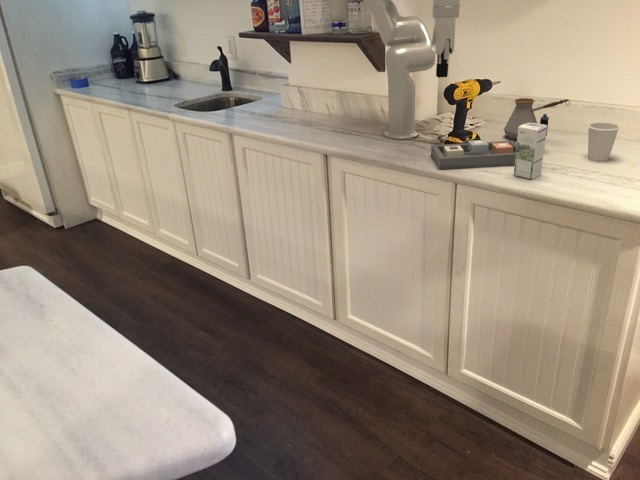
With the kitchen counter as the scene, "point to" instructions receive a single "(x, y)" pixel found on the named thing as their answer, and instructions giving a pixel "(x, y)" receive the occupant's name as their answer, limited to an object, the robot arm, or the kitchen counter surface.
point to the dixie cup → (601, 140)
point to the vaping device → (544, 121)
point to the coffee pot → (524, 115)
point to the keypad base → (472, 157)
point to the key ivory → (453, 151)
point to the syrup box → (530, 150)
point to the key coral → (501, 148)
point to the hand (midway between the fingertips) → (441, 76)
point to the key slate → (478, 146)
